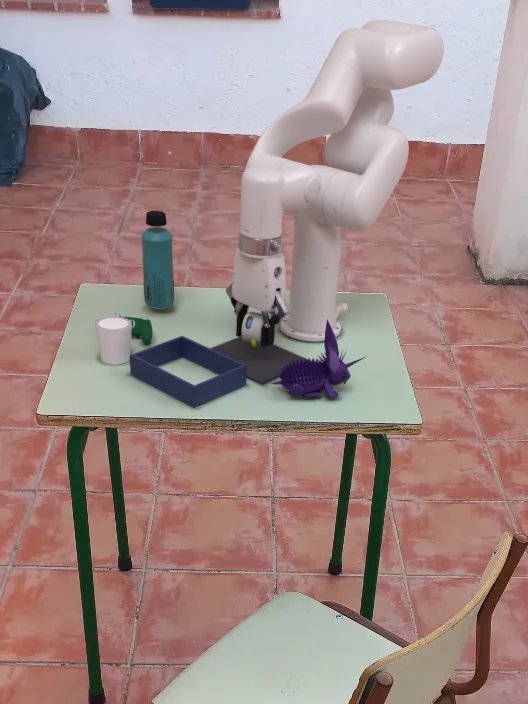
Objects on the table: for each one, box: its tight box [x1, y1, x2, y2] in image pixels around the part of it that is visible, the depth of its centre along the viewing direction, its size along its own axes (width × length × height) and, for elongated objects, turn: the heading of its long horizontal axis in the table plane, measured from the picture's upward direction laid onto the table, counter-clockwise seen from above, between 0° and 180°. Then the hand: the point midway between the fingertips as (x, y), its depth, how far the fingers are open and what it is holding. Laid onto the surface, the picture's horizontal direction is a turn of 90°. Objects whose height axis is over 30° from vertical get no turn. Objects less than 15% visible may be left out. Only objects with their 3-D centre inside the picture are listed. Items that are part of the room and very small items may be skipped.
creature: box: [270, 319, 368, 400], centre depth 161 cm, size 9×18×12 cm, turn 96°
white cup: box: [94, 315, 132, 365], centre depth 169 cm, size 7×7×7 cm
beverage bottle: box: [141, 210, 176, 310], centre depth 184 cm, size 6×7×20 cm
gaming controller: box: [114, 312, 153, 346], centre depth 178 cm, size 9×4×6 cm
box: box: [129, 335, 247, 409], centre depth 165 cm, size 13×17×4 cm
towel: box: [209, 336, 309, 386], centre depth 174 cm, size 14×17×1 cm
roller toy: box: [241, 311, 264, 348], centre depth 170 cm, size 4×6×6 cm
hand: (254, 339), depth 172 cm, fingers closed on roller toy, 5 cm apart
